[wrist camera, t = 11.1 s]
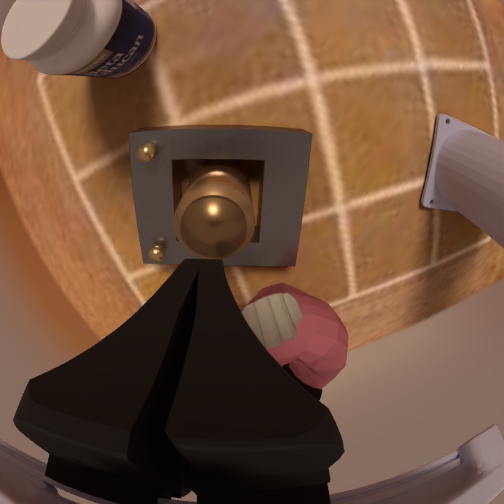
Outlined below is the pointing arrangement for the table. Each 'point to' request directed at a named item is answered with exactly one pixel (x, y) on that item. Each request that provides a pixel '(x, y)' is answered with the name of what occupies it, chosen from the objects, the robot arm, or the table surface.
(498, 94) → the table surface
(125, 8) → the pill bottle
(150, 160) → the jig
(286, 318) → the apple
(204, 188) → the brass cylinder
